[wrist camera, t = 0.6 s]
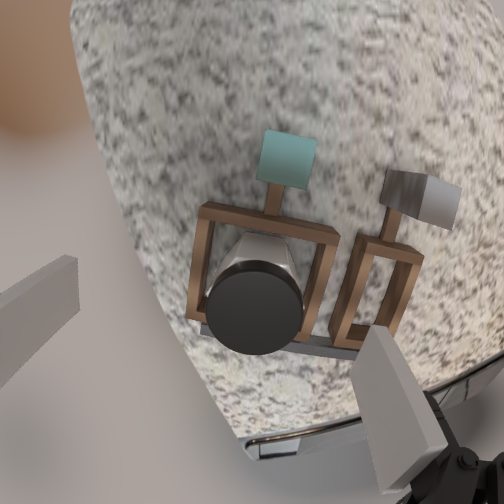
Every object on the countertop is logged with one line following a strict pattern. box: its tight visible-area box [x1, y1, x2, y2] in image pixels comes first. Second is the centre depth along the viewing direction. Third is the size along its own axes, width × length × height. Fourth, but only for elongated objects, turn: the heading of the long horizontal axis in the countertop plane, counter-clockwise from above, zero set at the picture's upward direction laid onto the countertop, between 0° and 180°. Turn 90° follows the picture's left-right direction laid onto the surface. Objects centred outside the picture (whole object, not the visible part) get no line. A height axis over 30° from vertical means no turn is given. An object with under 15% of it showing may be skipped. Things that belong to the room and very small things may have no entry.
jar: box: [205, 232, 305, 355], centre depth 30 cm, size 9×8×12 cm
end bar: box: [200, 322, 360, 361], centre depth 37 cm, size 2×25×2 cm, turn 79°
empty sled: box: [328, 170, 462, 349], centre depth 29 cm, size 21×7×10 cm, turn 169°
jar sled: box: [185, 129, 340, 342], centre depth 29 cm, size 21×14×10 cm
